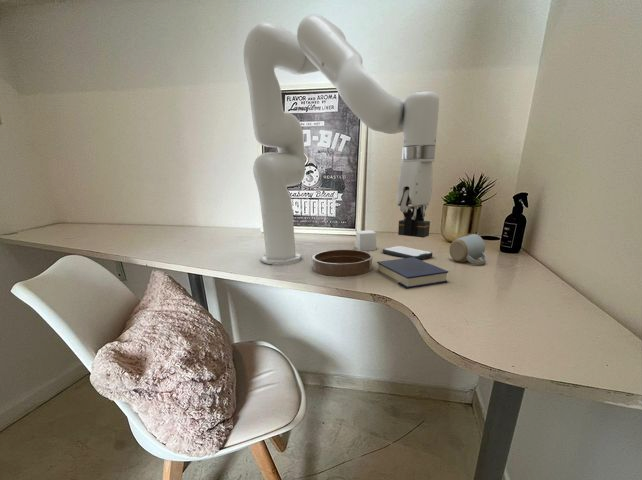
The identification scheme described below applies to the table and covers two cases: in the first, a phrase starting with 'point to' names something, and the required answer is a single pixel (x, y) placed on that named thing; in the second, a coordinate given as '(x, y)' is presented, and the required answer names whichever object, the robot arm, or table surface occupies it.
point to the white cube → (366, 240)
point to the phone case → (407, 252)
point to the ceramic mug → (468, 249)
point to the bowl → (342, 262)
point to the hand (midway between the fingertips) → (413, 233)
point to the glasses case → (421, 228)
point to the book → (413, 272)
